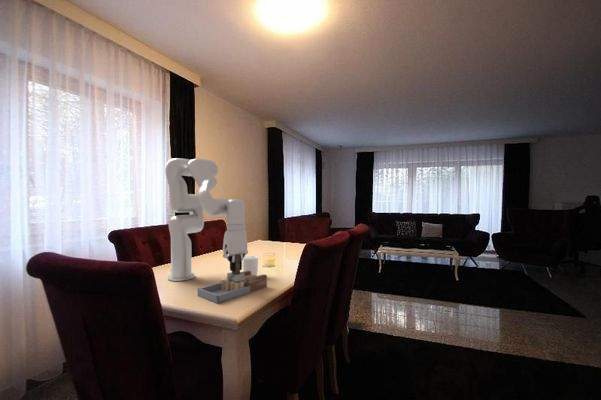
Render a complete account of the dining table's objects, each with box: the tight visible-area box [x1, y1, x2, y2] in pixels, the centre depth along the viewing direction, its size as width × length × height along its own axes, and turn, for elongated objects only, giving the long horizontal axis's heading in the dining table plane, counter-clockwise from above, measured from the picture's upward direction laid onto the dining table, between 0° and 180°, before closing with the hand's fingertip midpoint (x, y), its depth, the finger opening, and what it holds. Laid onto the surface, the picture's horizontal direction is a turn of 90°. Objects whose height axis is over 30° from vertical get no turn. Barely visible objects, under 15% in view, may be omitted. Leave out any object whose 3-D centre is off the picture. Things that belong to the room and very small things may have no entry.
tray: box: [197, 281, 251, 305], centre depth 119 cm, size 14×16×3 cm
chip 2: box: [230, 281, 244, 291], centre depth 122 cm, size 4×4×4 cm
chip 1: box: [221, 278, 233, 291], centre depth 125 cm, size 4×4×4 cm
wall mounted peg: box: [226, 254, 245, 282], centre depth 124 cm, size 7×4×12 cm, turn 50°
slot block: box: [240, 271, 268, 294], centre depth 129 cm, size 13×10×6 cm
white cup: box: [242, 255, 259, 276], centre depth 145 cm, size 8×8×10 cm
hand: (235, 269), depth 124 cm, fingers closed on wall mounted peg, 2 cm apart
